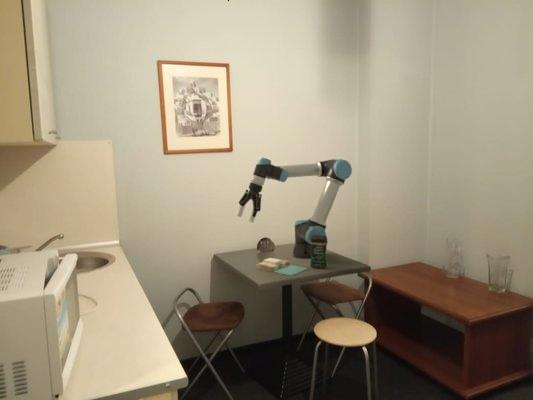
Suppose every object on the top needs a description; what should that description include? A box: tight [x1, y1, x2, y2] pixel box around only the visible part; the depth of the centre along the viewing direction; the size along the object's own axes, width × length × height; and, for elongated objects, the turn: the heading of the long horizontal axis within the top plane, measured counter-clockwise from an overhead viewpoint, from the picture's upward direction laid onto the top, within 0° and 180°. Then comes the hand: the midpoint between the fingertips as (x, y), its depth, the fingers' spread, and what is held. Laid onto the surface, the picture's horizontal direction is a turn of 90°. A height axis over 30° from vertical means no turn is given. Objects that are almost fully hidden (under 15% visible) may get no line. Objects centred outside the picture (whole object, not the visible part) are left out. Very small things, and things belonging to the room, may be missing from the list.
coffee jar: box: [310, 235, 328, 269], centre depth 230 cm, size 10×8×19 cm
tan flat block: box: [255, 258, 290, 273], centre depth 233 cm, size 16×12×2 cm
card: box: [263, 257, 283, 265], centre depth 233 cm, size 6×9×2 cm, turn 50°
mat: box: [272, 264, 309, 277], centre depth 225 cm, size 16×13×1 cm
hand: (244, 219), depth 230 cm, fingers open, 13 cm apart
